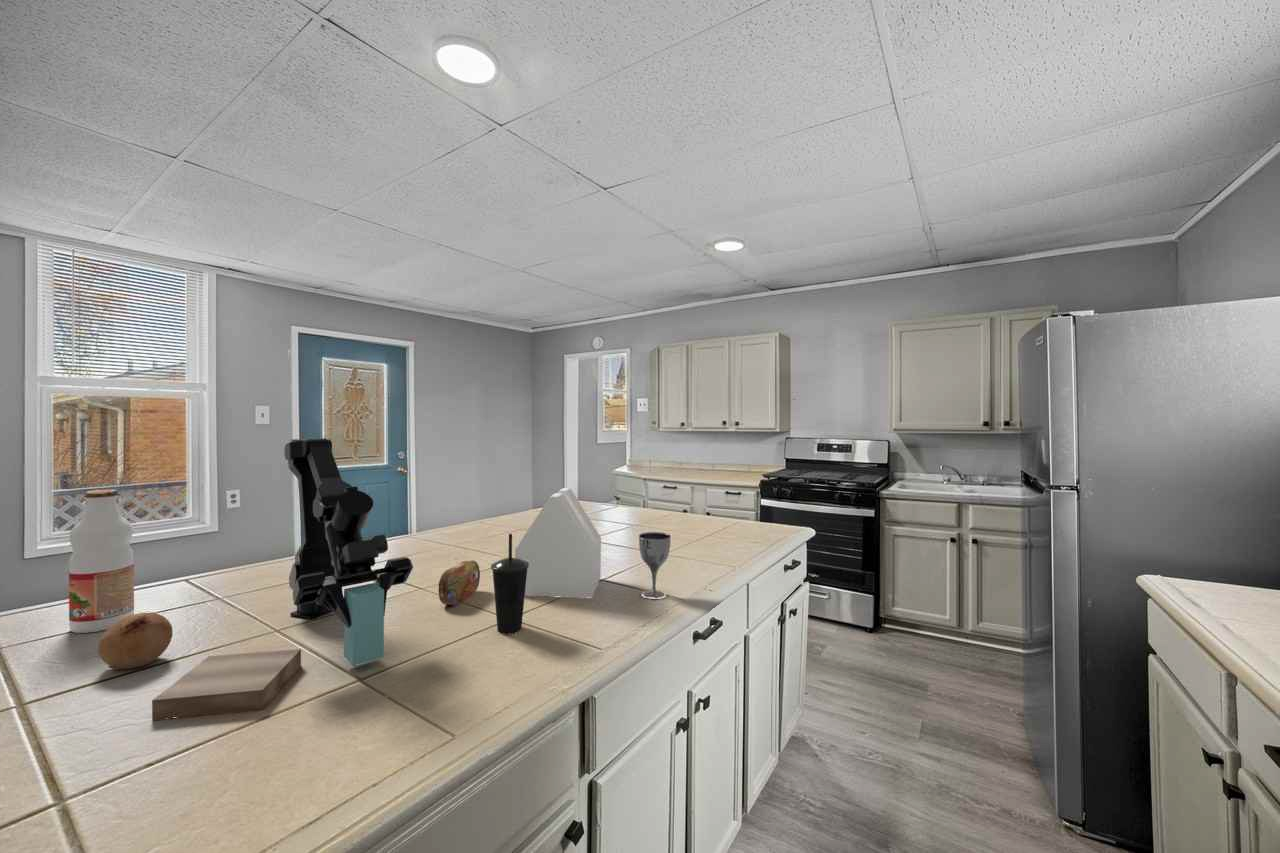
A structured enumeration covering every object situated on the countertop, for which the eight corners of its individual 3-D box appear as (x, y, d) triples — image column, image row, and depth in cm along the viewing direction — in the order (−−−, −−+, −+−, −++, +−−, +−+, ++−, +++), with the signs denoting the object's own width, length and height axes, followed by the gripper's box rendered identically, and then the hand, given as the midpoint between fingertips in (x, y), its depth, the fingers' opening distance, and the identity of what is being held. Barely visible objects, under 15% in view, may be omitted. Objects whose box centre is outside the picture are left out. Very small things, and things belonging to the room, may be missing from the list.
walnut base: (209, 673, 88) (208, 656, 88) (300, 665, 92) (301, 648, 92) (152, 720, 75) (152, 700, 75) (262, 709, 78) (262, 689, 78)
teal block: (343, 656, 92) (344, 589, 92) (374, 647, 95) (374, 582, 95) (352, 666, 88) (352, 596, 88) (383, 656, 92) (384, 589, 92)
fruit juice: (127, 627, 107) (126, 492, 106) (61, 638, 101) (59, 495, 101) (139, 613, 114) (138, 486, 114) (78, 621, 109) (77, 489, 109)
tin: (448, 611, 118) (448, 574, 118) (435, 609, 119) (435, 573, 119) (481, 589, 133) (481, 556, 133) (469, 588, 133) (470, 556, 133)
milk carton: (514, 596, 128) (515, 495, 128) (531, 577, 144) (532, 487, 143) (591, 598, 127) (592, 497, 127) (600, 579, 143) (601, 488, 142)
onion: (143, 687, 89) (143, 644, 86) (82, 676, 88) (79, 632, 84) (185, 645, 98) (186, 604, 95) (131, 634, 97) (130, 593, 93)
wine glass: (675, 593, 131) (676, 534, 131) (659, 603, 125) (660, 540, 124) (648, 587, 136) (649, 530, 135) (632, 596, 129) (632, 536, 129)
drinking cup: (535, 625, 111) (536, 531, 110) (515, 639, 103) (516, 539, 103) (504, 620, 113) (505, 528, 113) (482, 633, 106) (483, 536, 105)
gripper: (296, 529, 87) (313, 612, 80) (409, 515, 101) (433, 585, 93) (286, 565, 93) (301, 646, 86) (394, 547, 106) (415, 616, 99)
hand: (366, 621), depth 91 cm, fingers closed on teal block, 5 cm apart
